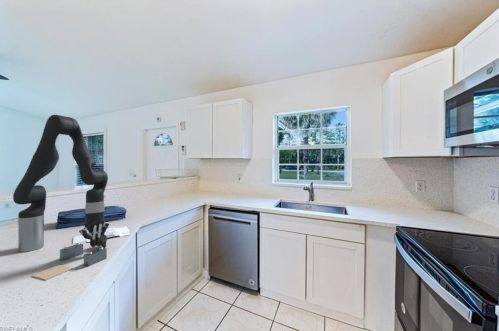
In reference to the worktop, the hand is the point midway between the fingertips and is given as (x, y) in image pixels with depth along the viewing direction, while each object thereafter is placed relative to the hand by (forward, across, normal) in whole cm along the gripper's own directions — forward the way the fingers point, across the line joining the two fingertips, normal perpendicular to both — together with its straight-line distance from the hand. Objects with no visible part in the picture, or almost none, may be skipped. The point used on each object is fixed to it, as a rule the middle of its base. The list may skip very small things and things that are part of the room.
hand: (94, 245), depth 99 cm
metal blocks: (+5, +5, 0) cm, 7 cm away
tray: (+6, -22, -24) cm, 33 cm away
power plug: (+7, -5, 0) cm, 8 cm away
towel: (+5, -43, -63) cm, 77 cm away
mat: (+5, +17, +1) cm, 18 cm away
